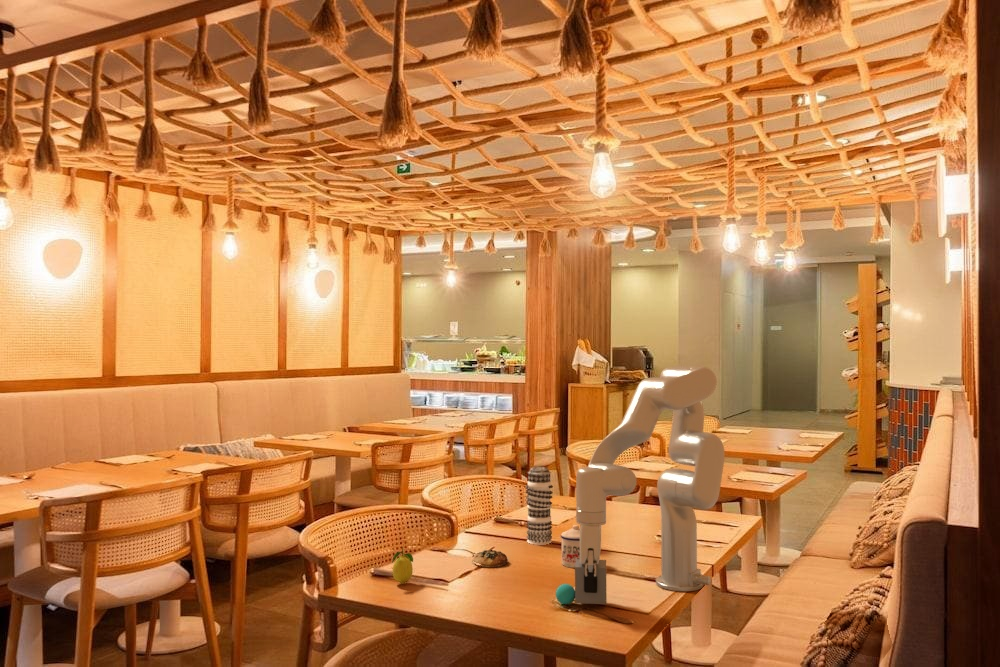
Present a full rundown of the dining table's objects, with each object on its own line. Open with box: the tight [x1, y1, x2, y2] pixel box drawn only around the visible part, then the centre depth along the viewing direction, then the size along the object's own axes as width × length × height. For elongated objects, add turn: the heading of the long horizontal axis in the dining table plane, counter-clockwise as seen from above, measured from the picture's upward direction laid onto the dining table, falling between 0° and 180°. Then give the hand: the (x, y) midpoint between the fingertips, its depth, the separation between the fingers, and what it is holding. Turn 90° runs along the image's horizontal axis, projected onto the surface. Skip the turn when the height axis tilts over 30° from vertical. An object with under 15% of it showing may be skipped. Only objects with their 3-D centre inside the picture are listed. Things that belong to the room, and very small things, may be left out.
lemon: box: [391, 547, 414, 585], centre depth 206 cm, size 7×6×10 cm
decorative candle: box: [525, 466, 554, 546], centre depth 254 cm, size 9×9×25 cm
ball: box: [555, 583, 575, 605], centre depth 190 cm, size 5×5×5 cm
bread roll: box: [471, 549, 509, 569], centre depth 228 cm, size 11×11×5 cm
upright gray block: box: [574, 559, 608, 605], centre depth 189 cm, size 8×8×9 cm
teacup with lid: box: [560, 524, 580, 569], centre depth 226 cm, size 12×9×12 cm
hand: (590, 586), depth 188 cm, fingers closed on upright gray block, 7 cm apart
